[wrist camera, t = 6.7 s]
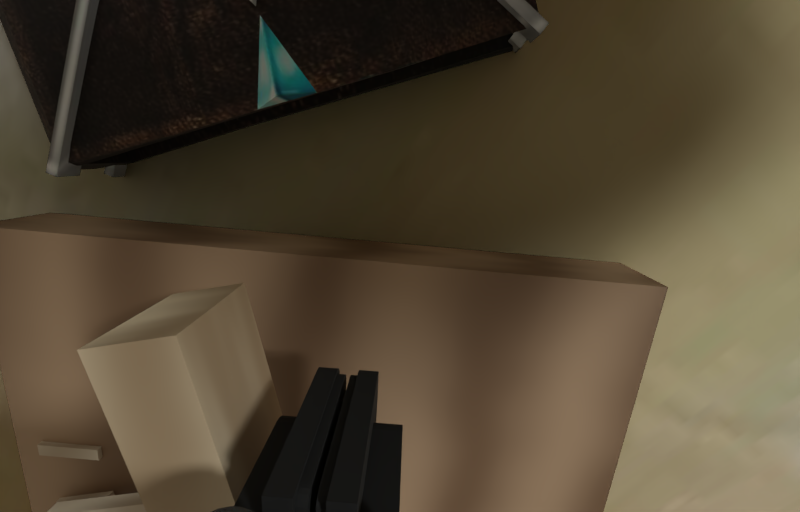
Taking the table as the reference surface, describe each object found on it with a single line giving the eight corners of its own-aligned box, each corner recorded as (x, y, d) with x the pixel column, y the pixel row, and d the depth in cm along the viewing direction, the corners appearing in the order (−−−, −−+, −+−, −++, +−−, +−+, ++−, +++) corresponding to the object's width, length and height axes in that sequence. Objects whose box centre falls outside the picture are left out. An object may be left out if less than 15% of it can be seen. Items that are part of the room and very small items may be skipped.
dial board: (620, 262, 16) (671, 289, 13) (535, 603, 21) (557, 681, 18) (50, 212, 16) (-38, 226, 13) (106, 565, 21) (54, 636, 18)
